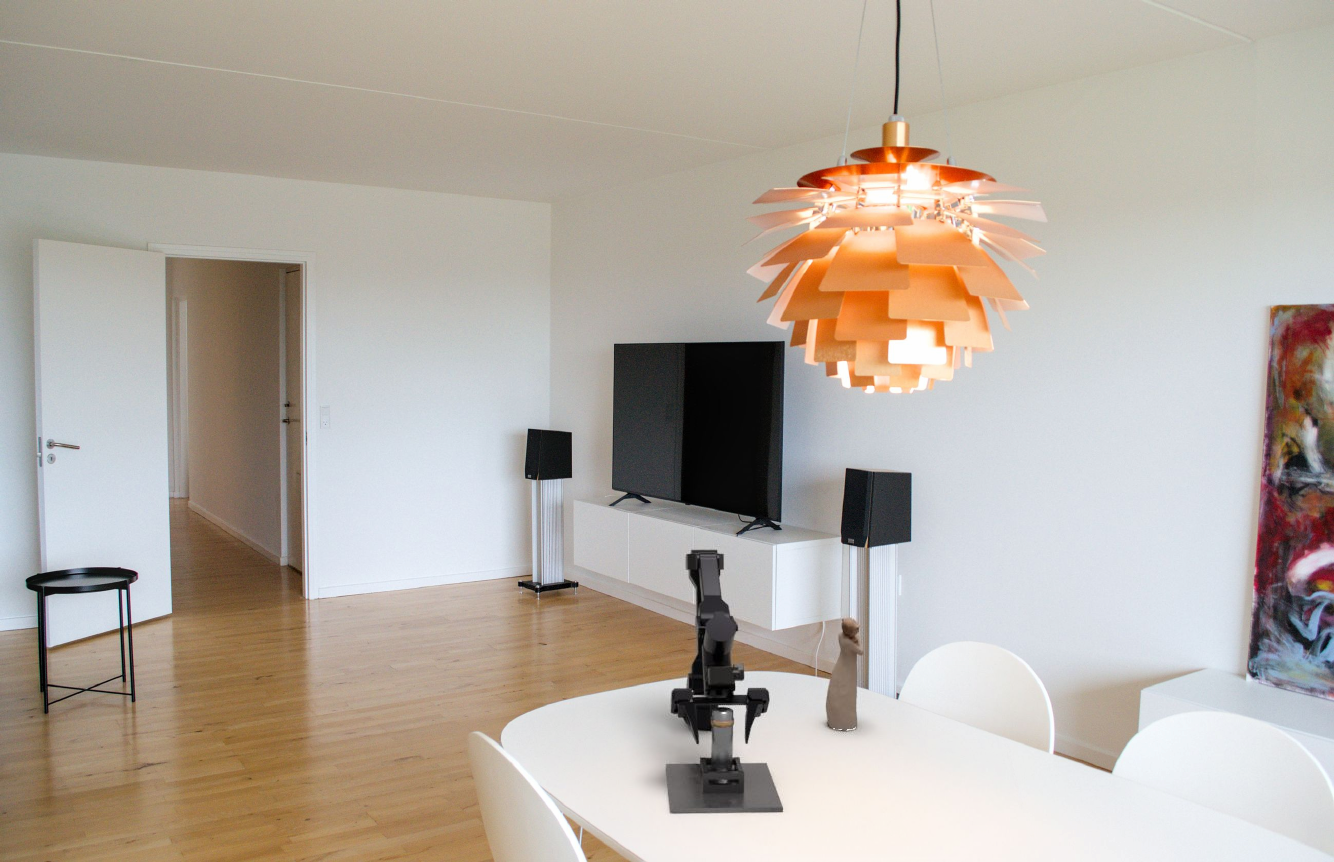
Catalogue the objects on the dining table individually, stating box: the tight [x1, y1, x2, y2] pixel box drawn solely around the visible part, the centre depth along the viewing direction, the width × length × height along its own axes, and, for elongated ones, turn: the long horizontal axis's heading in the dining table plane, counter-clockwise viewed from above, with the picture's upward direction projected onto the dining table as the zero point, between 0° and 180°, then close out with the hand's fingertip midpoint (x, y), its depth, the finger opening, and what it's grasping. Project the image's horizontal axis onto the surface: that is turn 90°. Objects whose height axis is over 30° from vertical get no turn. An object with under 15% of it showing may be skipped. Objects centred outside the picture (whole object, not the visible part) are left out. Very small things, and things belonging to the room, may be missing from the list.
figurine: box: [825, 617, 864, 730], centre depth 215 cm, size 8×8×25 cm
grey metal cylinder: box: [710, 706, 735, 783], centre depth 181 cm, size 4×4×14 cm
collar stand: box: [665, 756, 784, 814], centre depth 181 cm, size 20×20×4 cm
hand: (722, 743), depth 180 cm, fingers open, 9 cm apart
